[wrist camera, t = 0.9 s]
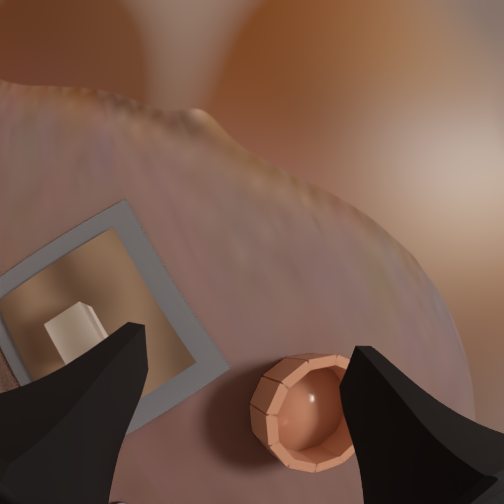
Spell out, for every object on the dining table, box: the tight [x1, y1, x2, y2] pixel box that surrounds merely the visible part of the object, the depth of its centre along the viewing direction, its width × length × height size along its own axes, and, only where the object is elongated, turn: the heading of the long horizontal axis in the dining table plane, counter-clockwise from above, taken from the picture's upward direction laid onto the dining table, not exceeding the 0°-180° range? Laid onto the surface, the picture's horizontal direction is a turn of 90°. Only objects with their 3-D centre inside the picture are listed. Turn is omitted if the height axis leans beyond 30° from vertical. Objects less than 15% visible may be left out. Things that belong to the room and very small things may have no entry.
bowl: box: [249, 353, 355, 473], centre depth 22 cm, size 10×10×4 cm
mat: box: [0, 199, 231, 436], centre depth 20 cm, size 16×16×1 cm
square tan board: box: [0, 227, 196, 398], centre depth 18 cm, size 12×12×4 cm
